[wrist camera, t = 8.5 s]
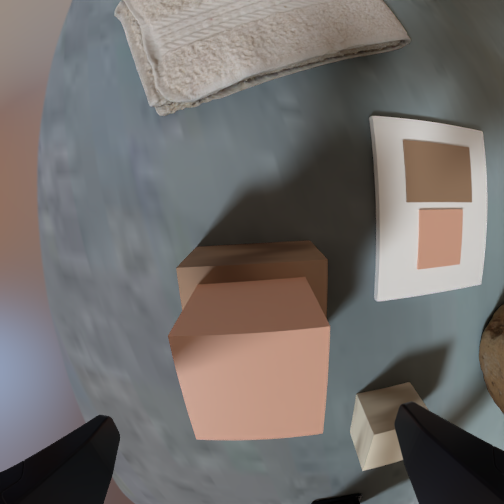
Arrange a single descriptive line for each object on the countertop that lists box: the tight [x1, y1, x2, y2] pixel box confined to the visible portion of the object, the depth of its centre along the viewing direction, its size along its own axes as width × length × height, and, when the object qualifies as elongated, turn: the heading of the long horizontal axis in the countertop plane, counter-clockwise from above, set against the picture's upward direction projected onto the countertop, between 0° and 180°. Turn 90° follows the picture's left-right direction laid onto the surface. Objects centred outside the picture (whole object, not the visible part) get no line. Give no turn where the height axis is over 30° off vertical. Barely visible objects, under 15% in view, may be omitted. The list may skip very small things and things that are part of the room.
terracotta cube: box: [168, 277, 330, 440], centre depth 11 cm, size 5×5×5 cm
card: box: [369, 116, 487, 302], centre depth 17 cm, size 10×12×1 cm
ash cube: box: [350, 382, 428, 471], centre depth 19 cm, size 5×5×5 cm
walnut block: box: [176, 240, 328, 319], centre depth 16 cm, size 7×7×5 cm
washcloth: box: [115, 0, 411, 116], centre depth 13 cm, size 12×18×3 cm, turn 113°
